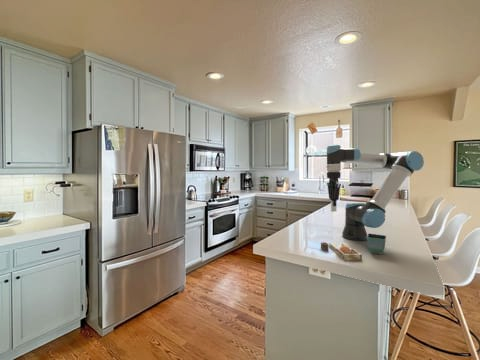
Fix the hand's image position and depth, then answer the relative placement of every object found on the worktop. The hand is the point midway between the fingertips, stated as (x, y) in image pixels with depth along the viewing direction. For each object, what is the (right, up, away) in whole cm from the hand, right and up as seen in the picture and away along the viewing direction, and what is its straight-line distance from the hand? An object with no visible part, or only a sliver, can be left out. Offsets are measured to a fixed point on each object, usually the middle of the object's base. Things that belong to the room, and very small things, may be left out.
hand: (333, 211), depth 145 cm
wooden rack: (+1, -21, -18) cm, 28 cm away
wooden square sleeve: (-8, -21, -7) cm, 23 cm away
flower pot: (+19, -21, -11) cm, 31 cm away
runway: (+1, -21, -8) cm, 22 cm away
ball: (0, -19, -16) cm, 24 cm away
